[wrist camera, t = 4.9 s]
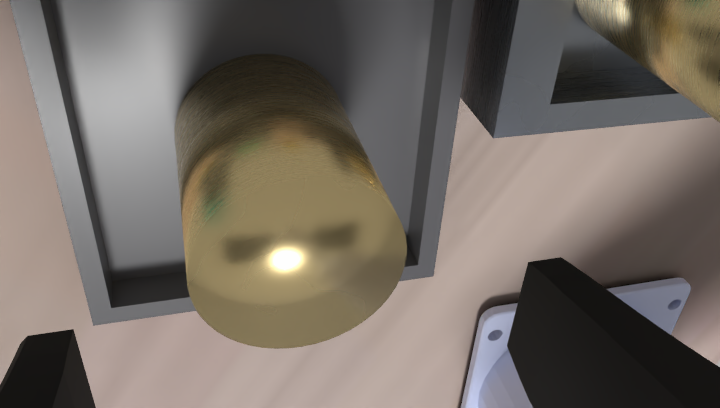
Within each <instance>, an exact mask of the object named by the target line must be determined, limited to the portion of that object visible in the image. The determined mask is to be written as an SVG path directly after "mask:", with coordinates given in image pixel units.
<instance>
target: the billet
mask: <svg viewBox="0 0 720 408" xmlns="http://www.w3.org/2000/svg"><path fill="white" fill-rule="evenodd" d="M174 132H175V147H176V159H177V170H178V182H179V194H180V205H181V217H182V228H183V240H184V252H185V263H186V275H187V286H188V291H189V295H190V298H191V301H192V303H193V305H194V307H195V309H196V310H197V312H198V313H199V315H200V316H201V317H202V319H203V320H204V321H205V322H206V323H207V324H208V325H209V326H211V327H212V328H213V329H214V330H216V331H217V332H219V333H220V334H222V335H224V336H226V337H227V338H230V339H232V340H235V341H237V342H240V343H243V344H247V345H250V346H256V347H262V348H294V347H302V346H307V345H312V344H316V343H319V342H322V341H326V340H329V339H331V338H334V337H336V336H339V335H341V334H343V333H345V332H347V331H349V330H351V329H352V328H354V327H355V326H357V325H359V324H360V323H362V322H363V321H365V320H366V319H367V318H368V317H370V316H371V315H372V314H373V313H374V312H376V311H377V310H378V309H379V308H380V307H381V306H382V305H383V303H384V302H385V301H386V300H387V299H388V298H389V296H390V295H391V293H392V292H393V290H394V289H395V288H396V286H397V284H398V282H399V280H400V278H401V275H402V272H403V270H404V267H405V262H406V256H407V243H406V235H405V232H404V229H403V226H402V223H401V221H400V219H399V217H398V215H397V213H396V211H395V210H394V208H393V206H392V204H391V202H390V200H389V198H388V196H387V194H386V192H385V190H384V188H383V186H382V184H381V182H380V180H379V178H378V176H377V174H376V172H375V170H374V168H373V166H372V164H371V162H370V160H369V158H368V156H367V154H366V152H365V150H364V148H363V146H362V144H361V142H360V140H359V138H358V136H357V134H356V132H355V130H354V128H353V126H352V124H351V122H350V120H349V118H348V116H347V114H346V112H345V110H344V108H343V106H342V104H341V102H340V100H339V98H338V96H337V94H336V92H335V90H334V89H333V87H332V86H331V84H330V83H329V82H328V81H327V80H326V79H325V78H324V76H323V75H322V74H320V73H319V72H318V71H317V70H315V69H314V68H313V67H311V66H309V65H307V64H306V63H304V62H301V61H299V60H296V59H294V58H291V57H287V56H283V55H276V54H252V55H245V56H241V57H237V58H234V59H231V60H229V61H226V62H223V63H222V64H220V65H218V66H216V67H214V68H212V69H211V70H210V71H208V72H207V73H205V74H204V75H203V76H202V77H201V78H200V79H198V80H197V81H196V82H195V83H194V85H193V86H192V87H191V88H190V89H189V91H188V92H187V94H186V95H185V97H184V99H183V100H182V102H181V105H180V107H179V109H178V113H177V116H176V120H175V130H174Z"/></svg>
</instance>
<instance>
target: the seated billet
mask: <svg viewBox="0 0 720 408" xmlns="http://www.w3.org/2000/svg"><path fill="white" fill-rule="evenodd" d="M575 4H576V6H577V9H578V11H579V13H580V15H581V17H582V18H583V20H584V21H585V22H586V23H587V25H588V26H589V27H590V28H592V29H593V30H594V31H595V32H597V33H598V34H599V35H601V36H602V37H603V38H605V39H606V40H608V41H609V42H610V43H612V44H613V45H614V46H616V47H617V48H618V49H620V50H621V51H623V52H624V53H625V54H627V55H628V56H629V57H631V58H632V59H634V60H635V61H636V62H638V63H639V64H640V65H642V66H643V67H644V68H646V69H647V70H649V71H650V72H651V73H653V74H654V75H655V76H657V77H658V78H659V79H661V80H662V81H664V82H665V83H666V84H668V85H669V86H670V87H672V88H673V89H674V90H676V91H677V92H679V93H680V94H681V95H683V96H684V97H685V98H687V99H688V100H690V101H691V102H692V103H694V104H695V105H696V106H698V107H699V108H700V109H702V110H703V111H705V112H706V113H707V114H709V115H710V116H711V117H713V118H714V119H715V120H717V121H718V122H720V0H575Z"/></svg>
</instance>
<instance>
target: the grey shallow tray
mask: <svg viewBox="0 0 720 408" xmlns="http://www.w3.org/2000/svg"><path fill="white" fill-rule="evenodd" d="M460 97H461V99H462V100H463V101H464V102H465V104H466V105H467V106H468V107H469V109H470V110H471V111H472V112H473V114H474V115H475V116H476V117H477V119H478V120H479V121H480V122H481V123H482V125H483V126H484V127H485V128H486V130H487V131H488V132H489V133H490V135H491V136H492V137H493V138H501V137H511V136H522V135H532V134H542V133H553V132H563V131H573V130H584V129H594V128H604V127H615V126H625V125H635V124H645V123H656V122H666V121H676V120H687V119H697V118H707V117H711V116H710V115H709V114H707V113H706V112H705V111H703V110H702V109H700V108H699V107H698V106H696V105H695V104H694V103H692V102H691V101H690V100H688V99H687V98H685V97H684V96H683V95H681V94H680V93H679V92H677V91H676V90H674V89H673V88H672V87H670V86H669V85H668V84H666V83H665V82H664V81H662V80H661V79H659V78H658V77H657V76H655V75H654V74H653V73H651V72H650V71H649V70H647V69H646V68H644V67H643V66H642V65H640V64H639V63H638V62H636V61H635V60H634V59H632V58H631V57H629V56H628V55H627V54H625V53H624V52H623V51H621V50H620V49H618V48H617V47H616V46H614V45H613V44H612V43H610V42H609V41H608V40H606V39H605V38H603V37H602V36H601V35H599V34H598V33H597V32H595V31H594V30H593V29H592V28H590V27H589V26H588V25H587V23H586V22H585V21H584V20H583V18H582V17H581V15H580V13H579V11H578V9H577V6H576V4H575V0H475V1H474V8H473V14H472V21H471V28H470V34H469V41H468V48H467V54H466V61H465V68H464V74H463V81H462V88H461V94H460Z"/></svg>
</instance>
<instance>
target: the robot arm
mask: <svg viewBox="0 0 720 408" xmlns="http://www.w3.org/2000/svg"><path fill="white" fill-rule="evenodd" d="M690 290H691V286H690V284H689V283H688V282H687V281H686V280H685V279H683V278H671V279H665V280H658V281H652V282H646V283H640V284H633V285H627V286H621V287H615V288H608V289H605V288H604V287H603V286H601V285H600V284H598V283H597V282H596V281H594V280H593V279H592V278H590V277H589V276H587V275H586V274H585V273H583V272H582V271H580V270H579V269H577V268H576V267H574V266H573V265H572V264H570V263H569V262H567V261H566V260H564V259H563V258H561V257H560V258H554V259H547V260H540V261H533V262H528V266H527V269H526V273H525V277H524V281H523V285H522V289H521V293H520V297H519V300H518V303H514V304H508V305H502V306H496V307H492V308H489V309H488V310H486V311H485V312H484V313H483V314H482V315H481V318H480V320H479V325H478V329H477V334H476V339H475V343H474V348H473V353H472V357H471V362H470V367H469V371H468V376H467V381H466V385H465V390H464V395H463V399H462V404H461V408H720V367H718V366H717V365H715V364H714V363H712V362H710V361H709V360H707V359H706V358H704V357H703V356H701V355H700V354H698V353H697V352H695V351H694V350H692V349H691V348H689V347H688V346H686V345H685V344H683V343H682V342H680V341H679V340H677V339H676V338H674V337H673V336H671V333H672V331H673V329H674V327H675V324H676V322H677V320H678V318H679V316H680V313H681V311H682V309H683V307H684V305H685V302H686V300H687V298H688V296H689V294H690ZM0 408H96V407H95V404H94V400H93V397H92V393H91V390H90V386H89V383H88V379H87V376H86V372H85V369H84V365H83V362H82V358H81V355H80V351H79V348H78V344H77V341H76V337H75V334H74V330H73V329H72V330H65V331H59V332H52V333H45V334H38V335H32V336H27V337H26V338H25V339H24V340H23V341H22V342H21V344H20V346H19V348H18V350H17V352H16V355H15V357H14V359H13V361H12V363H11V365H10V367H9V369H8V371H7V373H6V375H5V377H4V379H3V381H2V383H1V385H0Z"/></svg>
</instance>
